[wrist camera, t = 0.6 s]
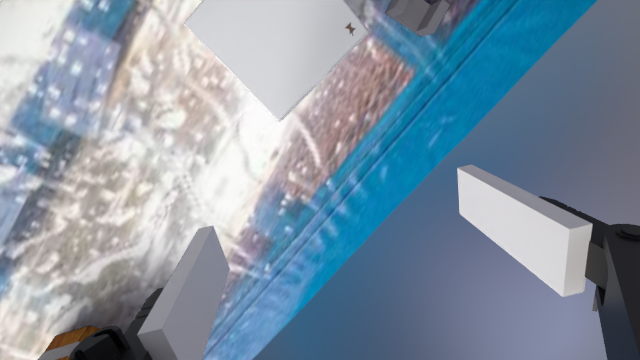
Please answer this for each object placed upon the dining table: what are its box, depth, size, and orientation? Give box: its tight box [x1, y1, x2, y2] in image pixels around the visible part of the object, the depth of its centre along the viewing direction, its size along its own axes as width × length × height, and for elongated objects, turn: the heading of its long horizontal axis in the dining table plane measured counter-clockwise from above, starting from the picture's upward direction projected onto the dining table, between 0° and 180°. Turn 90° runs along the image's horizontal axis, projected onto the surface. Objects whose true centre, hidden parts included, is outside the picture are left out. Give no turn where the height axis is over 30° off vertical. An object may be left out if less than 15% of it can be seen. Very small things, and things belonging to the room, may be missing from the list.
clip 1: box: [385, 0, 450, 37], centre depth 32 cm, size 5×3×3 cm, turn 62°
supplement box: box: [184, 0, 369, 122], centre depth 26 cm, size 9×9×15 cm
